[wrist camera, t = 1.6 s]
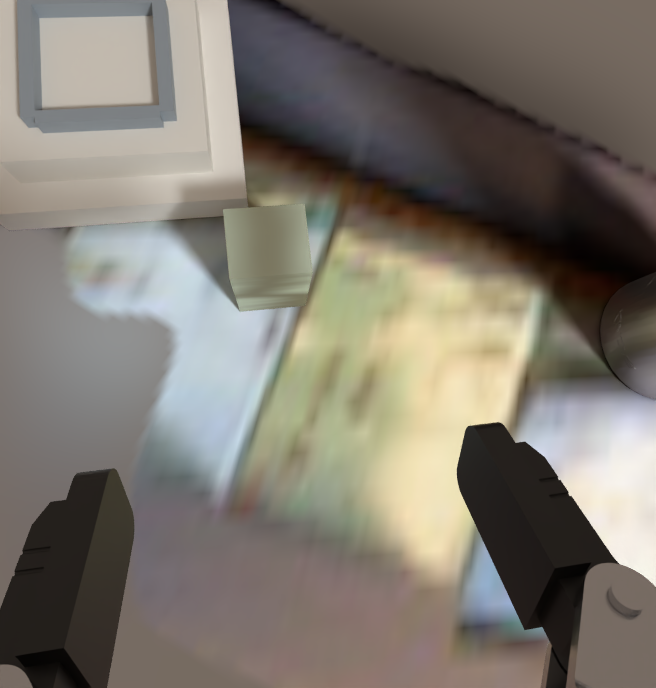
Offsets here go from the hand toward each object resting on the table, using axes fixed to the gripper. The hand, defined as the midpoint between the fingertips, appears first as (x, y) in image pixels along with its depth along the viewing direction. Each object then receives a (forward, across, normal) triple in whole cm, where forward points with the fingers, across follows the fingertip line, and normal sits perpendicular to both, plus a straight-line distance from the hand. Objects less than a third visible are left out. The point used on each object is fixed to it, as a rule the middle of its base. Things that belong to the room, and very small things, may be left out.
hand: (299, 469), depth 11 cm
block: (+23, 0, +7) cm, 24 cm away
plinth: (+32, +9, -2) cm, 33 cm away
